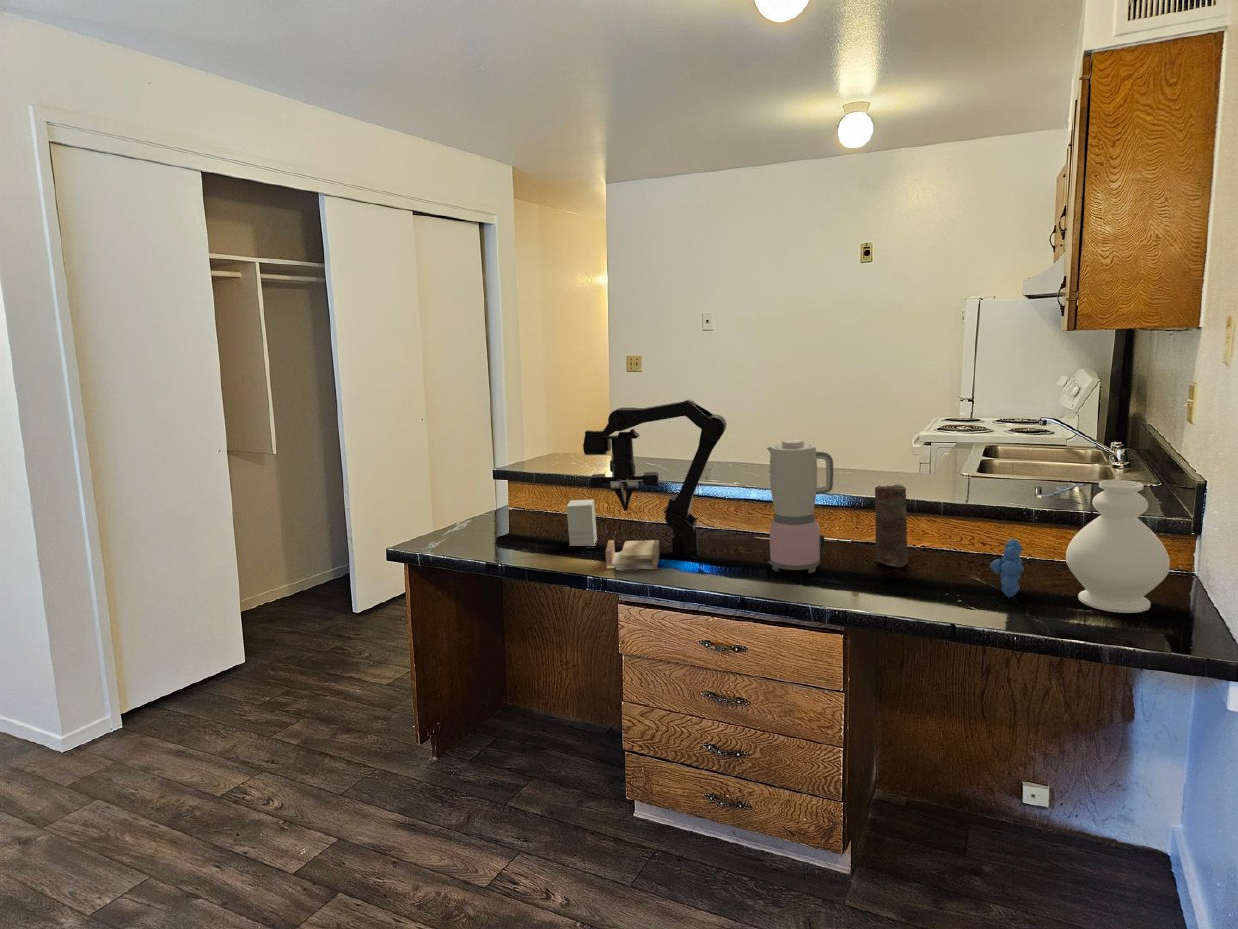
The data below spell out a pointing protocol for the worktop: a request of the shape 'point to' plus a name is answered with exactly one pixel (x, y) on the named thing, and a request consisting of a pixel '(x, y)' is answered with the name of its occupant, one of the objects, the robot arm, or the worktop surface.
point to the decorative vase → (1118, 552)
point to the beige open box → (640, 553)
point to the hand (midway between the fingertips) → (626, 510)
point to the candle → (891, 525)
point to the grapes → (1009, 567)
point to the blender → (796, 505)
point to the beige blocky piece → (615, 559)
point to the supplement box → (581, 522)
